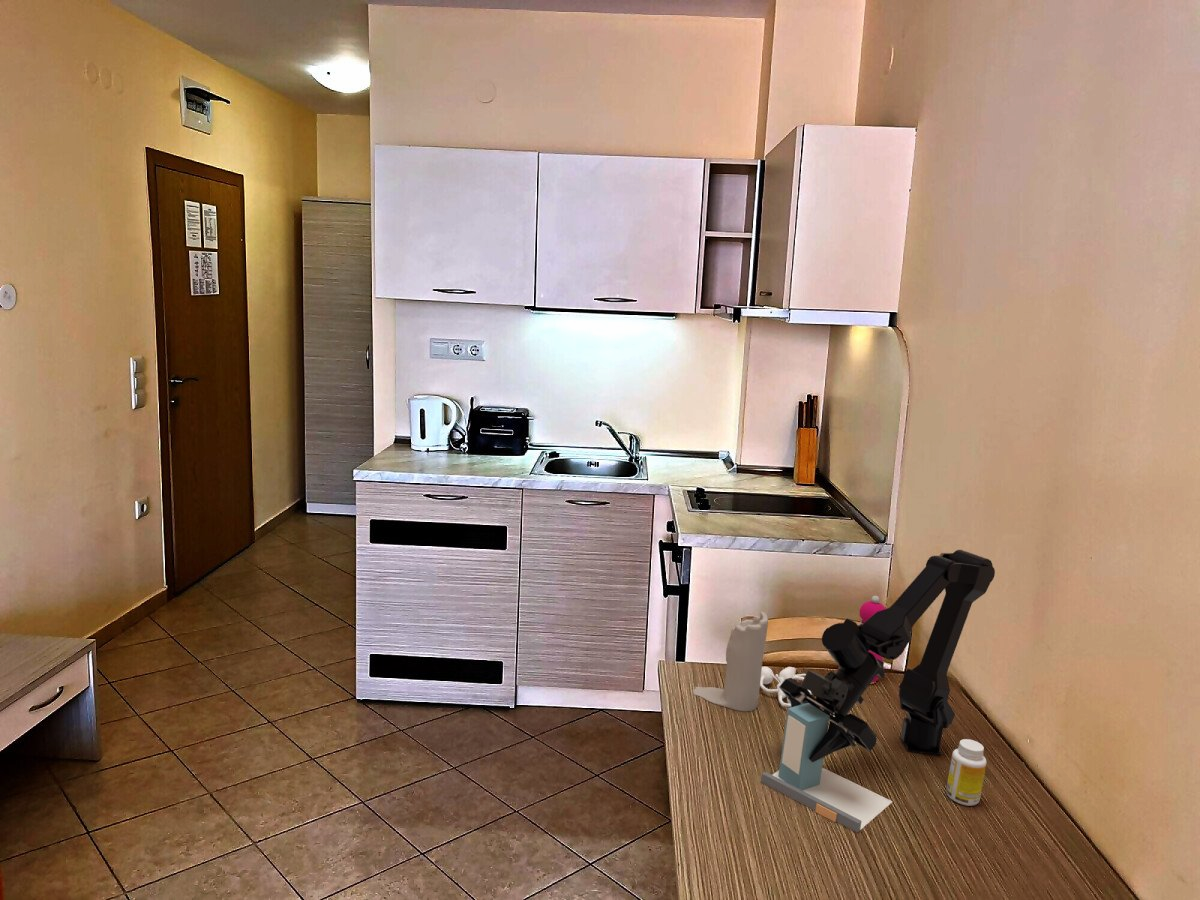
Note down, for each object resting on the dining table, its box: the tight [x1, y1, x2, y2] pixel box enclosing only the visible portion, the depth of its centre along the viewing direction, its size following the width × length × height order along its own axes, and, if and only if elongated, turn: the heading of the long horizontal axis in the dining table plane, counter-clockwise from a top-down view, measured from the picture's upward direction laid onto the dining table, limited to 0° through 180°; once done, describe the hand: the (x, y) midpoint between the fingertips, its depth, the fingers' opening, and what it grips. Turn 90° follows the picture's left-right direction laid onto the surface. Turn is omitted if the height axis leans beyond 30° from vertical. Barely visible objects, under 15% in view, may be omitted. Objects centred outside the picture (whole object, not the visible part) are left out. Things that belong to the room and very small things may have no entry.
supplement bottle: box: [945, 738, 987, 807], centre depth 152 cm, size 6×6×10 cm
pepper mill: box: [858, 595, 887, 682], centre depth 195 cm, size 7×7×20 cm
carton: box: [778, 703, 830, 791], centre depth 150 cm, size 5×5×13 cm
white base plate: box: [760, 767, 893, 833], centre depth 148 cm, size 13×18×3 cm
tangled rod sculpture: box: [760, 666, 835, 717], centre depth 184 cm, size 19×14×4 cm
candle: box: [692, 611, 769, 712], centre depth 180 cm, size 7×14×20 cm, turn 65°
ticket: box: [814, 803, 837, 823], centre depth 141 cm, size 1×4×2 cm, turn 46°
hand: (797, 751), depth 149 cm, fingers open, 6 cm apart
